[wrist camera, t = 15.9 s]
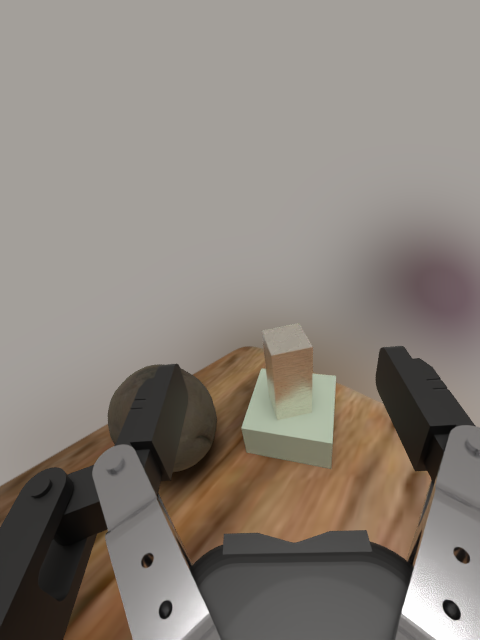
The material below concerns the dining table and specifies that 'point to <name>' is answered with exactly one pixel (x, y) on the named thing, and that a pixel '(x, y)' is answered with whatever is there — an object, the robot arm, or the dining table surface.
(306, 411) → the tea tin
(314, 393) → the green box
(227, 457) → the dining table surface
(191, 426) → the brown coconut
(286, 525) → the dining table surface
